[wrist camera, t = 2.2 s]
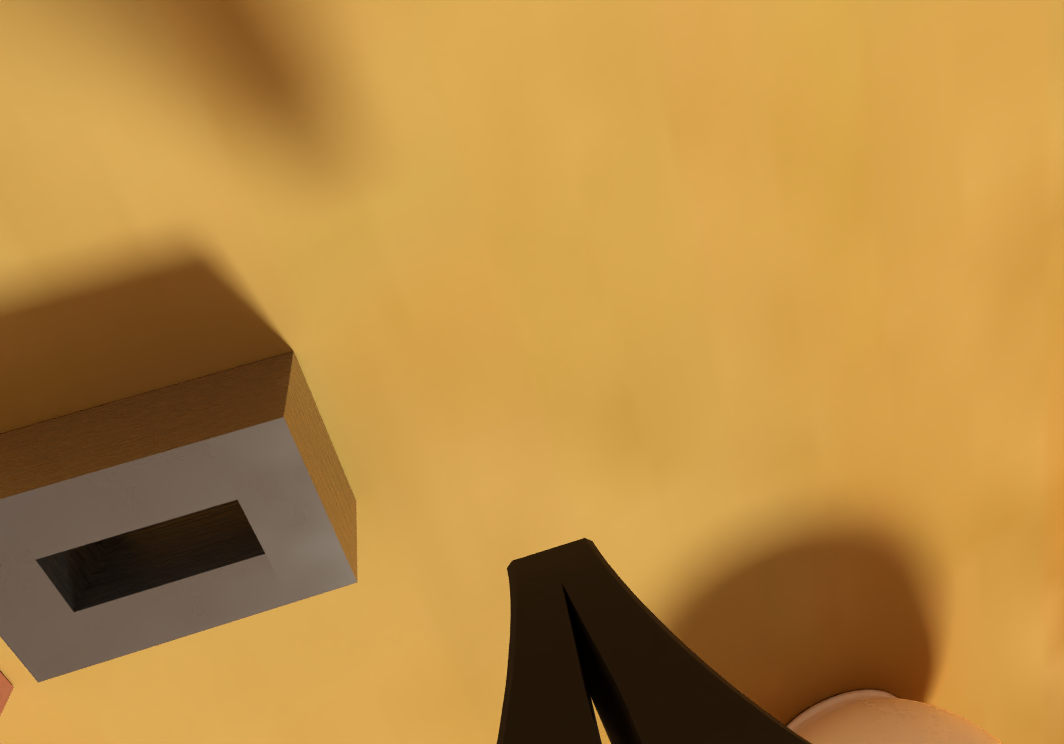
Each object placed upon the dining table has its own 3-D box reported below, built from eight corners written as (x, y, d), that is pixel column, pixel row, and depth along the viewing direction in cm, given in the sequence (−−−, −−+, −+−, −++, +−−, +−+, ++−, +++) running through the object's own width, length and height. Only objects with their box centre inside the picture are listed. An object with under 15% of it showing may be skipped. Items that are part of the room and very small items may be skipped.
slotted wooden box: (82, 584, 18) (37, 682, 16) (-21, 439, 16) (-91, 525, 14) (356, 501, 19) (357, 582, 16) (293, 351, 17) (283, 417, 14)
